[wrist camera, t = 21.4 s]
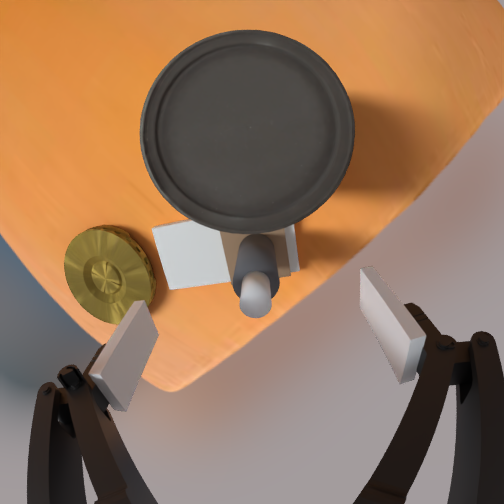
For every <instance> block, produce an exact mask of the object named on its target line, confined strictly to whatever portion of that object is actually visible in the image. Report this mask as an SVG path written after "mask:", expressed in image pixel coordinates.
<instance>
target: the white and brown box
mask: <svg viewBox="0 0 504 504" xmlns="http://www.w3.org/2000/svg"><path fill="white" fill-rule="evenodd" d="M152 232H153V235H154V239H155V243H156V246H157V250H158V253H159V256H160V260H161V263H162V266H163V270H164V273H165V276H166V279H167V282H168V285H169V288H170V290H173V289H180V288H188V287H195V286H202V285H210V284H217V283H224V282H231V284H232V285H233V276H234V270H235V265H236V260H237V255H238V250H239V246H240V243H241V241H242V240H243V239H244V238H245V237H246V236H248V235H251V234H232V233H227V232H222V231H218V230H214V229H211V228H208V227H205V226H203V225H200V224H198V223H196V222H194V221H192V220H191V219H188V220H183V221H178V222H173V223H168V224H163V225H158V226H155V227H153V228H152ZM260 234H263V235H265V236H267V237H268V238H269V239H270V240H271V241H272V243H273V245H274V249H275V255H276V262H277V268H278V274H279V278H280V277H286V276H291V273H290V272H296V271H300V269H299V261H298V253H297V245H296V237H295V230H294V224H293V225H291V226H288V227H286V228H283V229H280V230H276V231H272V232H268V233H260Z"/></svg>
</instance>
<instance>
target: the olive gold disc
mask: <svg viewBox="0 0 504 504" xmlns="http://www.w3.org/2000/svg"><path fill="white" fill-rule="evenodd" d="M129 235H130V234H129V233H127V232H126V231H124V230H122V229H120V228H117V227H114V226H109V225H102V226H97V227H93V228H90V229H88V230H86V231H84V232H82V233H80V234H79V235H77V236H76V237H75V238H74V239H73V240H72V241H71V243H70V244H69V246H68V248H67V251H66V254H65V260H64V269H65V276H66V280H67V283H68V286H69V288H70V290H71V292H72V294H73V295H74V297H75V298H76V300H77V301H78V302H79V304H80V305H81V306H82V307H83V308H84V309H85V310H86V311H87V312H89V313H90V314H91V315H93V316H94V317H96V318H98V319H99V320H102V321H104V322H107V323H111V324H120V322H121V320H122V319H123V317H124V316H125V314H126V313H127V311H128V310H129V308H130V307H131V306H132V304H133V303H134V301H141V300H145V302H146V305H147V307H148V306H149V305H150V303H151V301H152V300H153V297H154V294H155V290H156V278H154V273H153V270H152V267H151V264H150V262H149V260H148V258H147V256H146V254H145V253H144V251H143V250H142V248H141V247H140V246H139V245H138V244H137V243H136V242H135V241H134V240H133V239H132V238H131V237H130V236H129Z"/></svg>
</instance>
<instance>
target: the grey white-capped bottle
mask: <svg viewBox="0 0 504 504" xmlns="http://www.w3.org/2000/svg"><path fill="white" fill-rule="evenodd" d="M279 284H280V282H279V274H278V268H277V262H276V255H275V249H274V245H273V243H272V241H271V240H270V239H269V238H268V237H267V236H265V235H263V234H251V235H248V236H246V237H245V238H244V239H243V240H242V241H241V243H240V246H239V250H238V255H237V260H236V265H235V270H234V276H233V289H234V291H235V293H236V294H237V296H238V297H239V298H240V309H241V311H242V312H243V313H244V314H245V315H246V316H248V317H251V318H260V317H263V316H265V315H266V314H267V313H268V312H269V311H270V309H271V305H272V304H271V299H272V298H273V297H274V296H275V295H276V293H277V291H278V289H279Z"/></svg>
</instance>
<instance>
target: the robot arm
mask: <svg viewBox="0 0 504 504" xmlns="http://www.w3.org/2000/svg"><path fill="white" fill-rule="evenodd" d="M360 309H361V310H362V312H363V314H364V316H365V318H366V319H367V321H368V323H369V325H370V327H371V329H372V331H373V332H374V334H375V336H376V338H377V340H378V342H379V344H380V346H381V348H382V350H383V352H384V353H385V355H386V357H387V359H388V361H389V363H390V365H391V367H392V369H393V371H394V373H395V375H396V377H397V379H398V382H399V384H402V383H405V382H408V381H412V380H414V378H415V375H416V372H418V374H419V379H418V382H417V384H416V387H415V390H414V392H413V395H412V397H411V400H410V402H409V405H408V407H407V410H406V411H405V414H404V416H403V418H402V420H401V423H400V425H399V427H398V429H397V431H396V433H395V435H394V437H393V439H392V441H391V443H390V445H389V447H388V449H387V450H386V452H385V454H384V456H383V458H382V459H381V461H380V463H379V465H378V466H377V468H376V470H375V471H374V473H373V475H372V477H371V478H370V480H369V481H368V483H367V484H366V485H365V487H364V488H363V490H362V491H361V493H360V494H359V496H358V497H357V499H356V500H355V502H354V503H353V504H404V503H405V501H406V496H407V493H408V491H409V489H410V487H411V486H412V484H413V482H414V480H415V478H416V475H417V473H418V471H419V469H420V467H421V465H422V463H423V460H424V458H425V456H426V453H427V451H428V448H429V446H430V443H431V441H432V438H433V435H434V433H435V430H436V427H437V424H438V421H439V418H440V415H441V412H442V409H443V406H444V402H445V399H446V395H447V391H448V388H449V386H450V385H456V396H457V397H456V400H457V420H456V421H457V423H456V443H455V456H454V466H453V473H452V481H451V487H450V492H449V498H448V503H447V504H504V376H503V371H502V366H501V362H500V358H499V354H498V350H497V346H496V342H495V339H494V337H493V336H492V335H491V334H489V333H487V332H483V331H480V332H476V333H474V334H473V336H472V338H471V340H470V341H466V342H456V341H455V339H453V338H452V337H450V336H448V335H441V333H440V332H439V331H438V330H437V328H436V327H435V326H434V324H433V323H432V322H431V321H430V320H429V319H428V317H427V316H426V314H424V312H423V311H422V310H421V308H420V307H418V306H417V305H415V304H413V303H408V304H404V305H403V304H402V302H401V301H400V300H399V298H398V297H397V296H396V295H395V293H394V292H393V291H392V289H391V288H390V287H389V286H388V285H387V283H386V282H385V281H384V280H383V279H382V277H381V276H380V275H379V274H378V273H377V271H376V270H375V269H374V268H373V267H372V266H370V267H364V268H361V269H360ZM158 336H159V334H158V331H157V329H156V327H155V324H154V322H153V320H152V317H151V315H150V312H149V310H148V307H147V305H146V302H145V300H141V301H134V303H133V304H132V306H131V307H130V308H129V310H128V311H127V313H126V314H125V316H124V317H123V319H122V320H121V322H120V324H119V325H118V327H117V328H116V330H115V331H114V333H113V334H112V336H111V337H110V339H109V341H108V342H107V344H104V345H103V346H101V348H99V349H98V351H97V352H96V354H95V357H93V359H92V361H91V362H90V364H89V365H88V367H87V368H86V370H85V371H84V373H83V375H82V374H81V372H80V371H79V369H78V368H77V366H75V365H68V366H65V367H64V368H62V370H60V371H59V374H58V376H57V378H58V380H59V381H60V382H61V384H62V385H63V387H64V388H57V387H56V386H55V384H54V383H52V382H47V383H45V384H43V385H42V386H41V387H40V389H39V391H38V394H37V399H36V404H35V410H34V415H33V421H32V428H31V436H30V445H29V456H28V472H27V504H87V502H86V495H85V488H84V478H83V467H82V457H83V460H84V463H85V466H86V469H87V471H88V474H89V477H90V480H91V482H92V485H93V487H94V490H95V492H96V494H97V497H98V500H97V501H95V503H94V504H158V503H157V501H156V500H155V498H154V497H153V495H152V493H151V492H150V490H149V489H148V487H147V485H146V484H145V482H144V480H143V479H142V477H141V475H140V473H139V472H138V470H137V468H136V466H135V464H134V462H133V461H132V459H131V457H130V455H129V453H128V451H127V449H126V447H125V445H124V443H123V441H122V439H121V436H120V434H119V432H118V430H117V428H116V425H115V423H114V421H113V418H112V416H111V414H110V412H109V410H108V409H107V407H108V404H110V405H111V406H112V408H113V409H114V410H117V411H127V409H128V406H129V404H130V401H131V399H132V396H133V394H134V391H135V389H136V386H137V384H138V382H139V379H140V377H141V375H142V372H143V370H144V368H145V365H146V363H147V361H148V358H149V356H150V354H151V352H152V349H153V347H154V345H155V343H156V340H157V338H158ZM58 420H59V421H58Z"/></svg>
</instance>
